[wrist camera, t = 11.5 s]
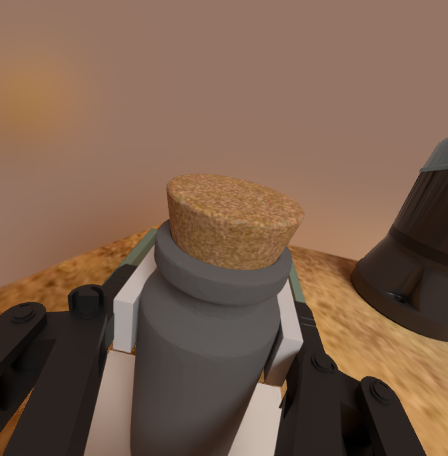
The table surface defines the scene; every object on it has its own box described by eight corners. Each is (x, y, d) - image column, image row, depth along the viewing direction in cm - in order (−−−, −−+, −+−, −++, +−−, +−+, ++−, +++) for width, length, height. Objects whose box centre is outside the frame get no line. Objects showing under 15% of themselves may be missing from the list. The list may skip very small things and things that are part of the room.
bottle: (163, 369, 18) (193, 161, 12) (239, 404, 17) (318, 196, 10) (104, 466, 13) (102, 187, 6) (210, 527, 12) (332, 260, 5)
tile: (278, 391, 20) (280, 387, 20) (302, 618, 11) (306, 616, 11) (110, 354, 20) (110, 350, 20) (-5, 549, 11) (-7, 546, 11)
